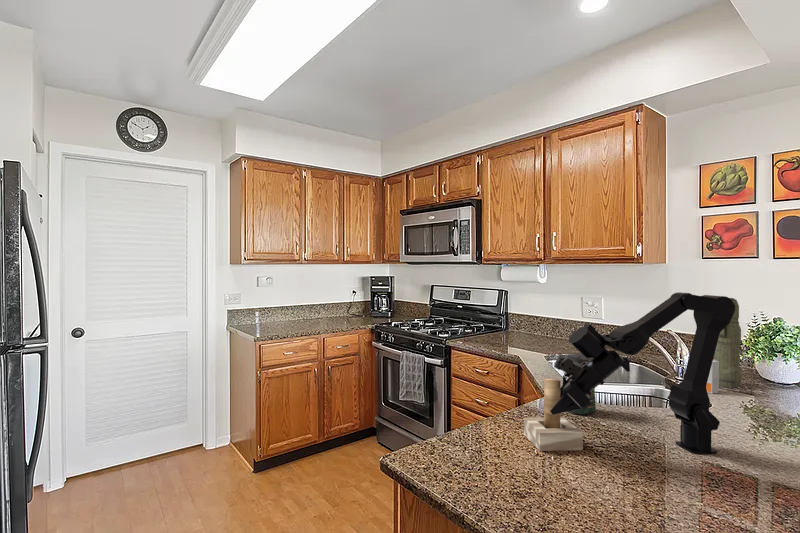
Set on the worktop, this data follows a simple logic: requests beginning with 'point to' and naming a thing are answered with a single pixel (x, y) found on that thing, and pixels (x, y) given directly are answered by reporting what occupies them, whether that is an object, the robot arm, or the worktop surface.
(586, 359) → the coffee jar
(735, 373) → the thermos
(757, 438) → the worktop surface
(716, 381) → the skincare box
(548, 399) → the wooden stick
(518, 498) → the worktop surface
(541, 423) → the socket block
